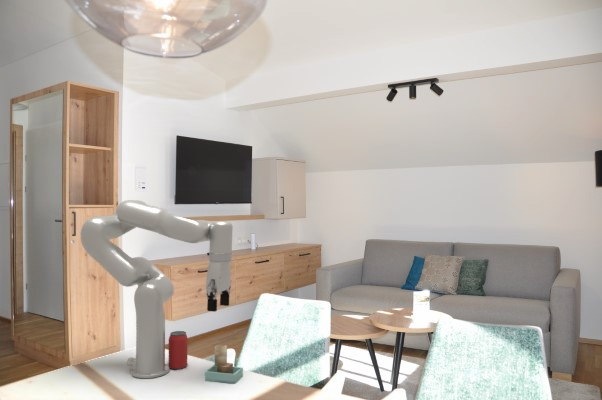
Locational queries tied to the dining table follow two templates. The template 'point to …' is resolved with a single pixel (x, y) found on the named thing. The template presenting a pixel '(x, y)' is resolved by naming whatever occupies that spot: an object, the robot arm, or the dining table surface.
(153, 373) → the robot arm
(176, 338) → the beer can
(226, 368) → the walnut cube
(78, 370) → the dining table surface
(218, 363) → the beech dowel
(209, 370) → the tote
